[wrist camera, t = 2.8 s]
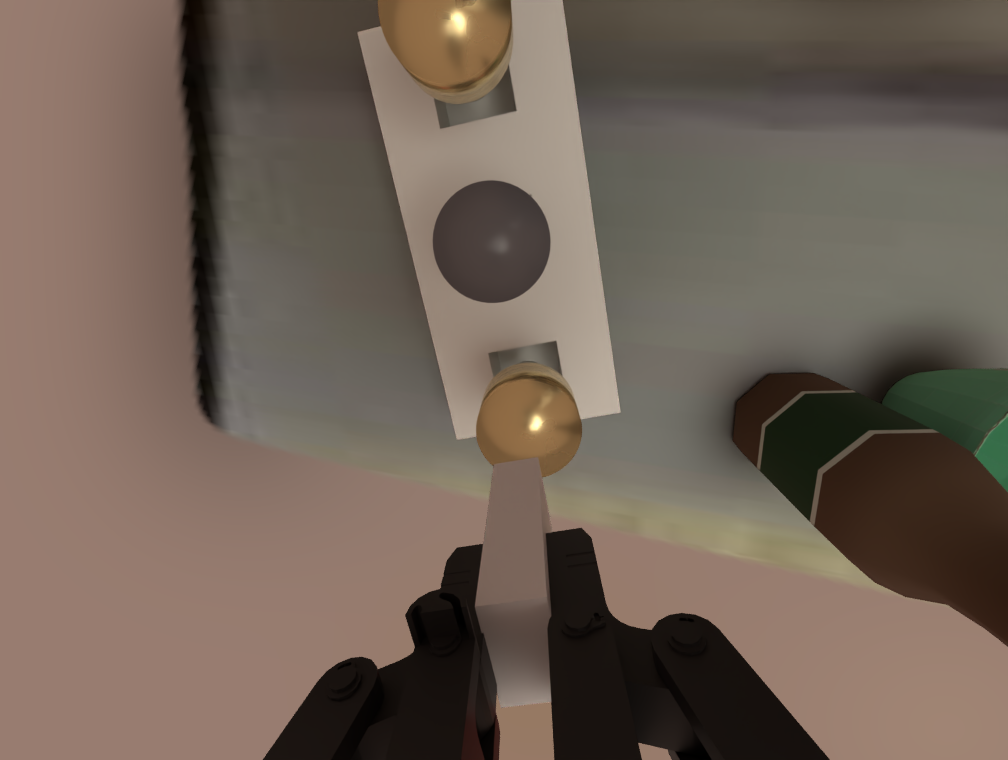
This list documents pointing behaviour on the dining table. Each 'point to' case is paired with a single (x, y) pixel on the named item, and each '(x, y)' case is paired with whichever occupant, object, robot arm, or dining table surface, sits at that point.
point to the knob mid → (491, 241)
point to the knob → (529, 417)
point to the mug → (961, 410)
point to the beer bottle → (884, 492)
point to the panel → (533, 168)
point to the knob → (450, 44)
